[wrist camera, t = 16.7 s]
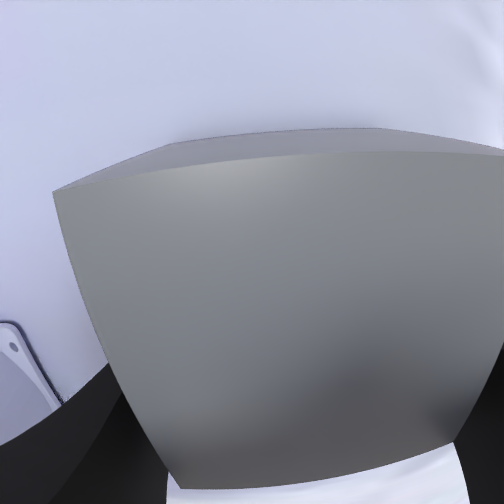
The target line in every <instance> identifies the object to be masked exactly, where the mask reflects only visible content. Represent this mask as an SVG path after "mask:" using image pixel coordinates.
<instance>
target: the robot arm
mask: <svg viewBox="0 0 504 504" xmlns="http://www.w3.org/2000/svg"><path fill="white" fill-rule="evenodd" d="M453 443H454V446H455V449H456V451H457V454H458V457H459V460H460V464H461V467H462V471H463V474H464V478H465V482H466V486H467V490H468V496H469V501H470V504H504V343H503V345H502V348H501V350H500V352H499V355H498V357H497V360H496V362H495V364H494V366H493V369H492V371H491V373H490V375H489V377H488V379H487V381H486V384H485V386H484V388H483V390H482V392H481V394H480V396H479V398H478V399H477V401H476V403H475V405H474V407H473V409H472V411H471V412H470V414H469V416H468V418H467V420H466V421H465V423H464V425H463V426H462V428H461V430H460V431H459V433H458V435H457V436H456V438H455V440H454V441H453ZM168 472H169V471H168V469H167V468H166V466H165V465H164V463H163V461H162V460H161V458H160V457H159V455H158V454H157V452H156V450H155V449H154V447H153V445H152V444H151V442H150V440H149V439H148V437H147V435H146V434H145V432H144V430H143V428H142V427H141V425H140V423H139V421H138V419H137V418H136V416H135V414H134V412H133V410H132V408H131V407H130V405H129V403H128V401H127V399H126V397H125V395H124V393H123V391H122V389H121V387H120V385H119V383H118V381H117V379H116V377H115V375H114V373H113V370H112V368H111V366H110V364H109V363H108V364H107V365H106V366H105V367H104V368H103V369H102V370H101V371H100V372H99V373H97V374H96V375H95V376H94V377H93V378H92V379H91V380H90V381H89V382H88V383H87V384H86V385H85V386H84V387H83V388H81V389H80V390H79V391H78V392H77V393H76V394H75V395H74V396H73V397H71V398H70V399H69V400H68V401H67V402H65V403H64V404H63V405H61V404H60V402H59V401H58V399H57V398H56V396H55V395H54V393H53V391H52V390H51V388H50V387H49V385H48V383H47V382H46V380H45V378H44V377H43V375H42V373H41V371H40V370H39V368H38V366H37V364H36V363H35V361H34V359H33V357H32V355H31V353H30V352H29V350H28V348H27V346H26V344H25V342H24V340H23V338H22V336H21V334H20V332H19V330H18V329H17V328H16V327H15V326H14V325H12V324H9V323H0V504H166V495H167V480H168Z"/></svg>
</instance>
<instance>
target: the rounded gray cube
mask: <svg viewBox="0 0 504 504" xmlns="http://www.w3.org/2000/svg"><path fill="white" fill-rule="evenodd" d="M52 193H53V198H54V202H55V207H56V211H57V215H58V219H59V223H60V227H61V231H62V234H63V238H64V242H65V245H66V249H67V252H68V255H69V259H70V262H71V265H72V268H73V271H74V274H75V278H76V281H77V283H78V286H79V289H80V292H81V295H82V298H83V301H84V303H85V306H86V309H87V311H88V314H89V317H90V319H91V322H92V324H93V327H94V329H95V332H96V334H97V337H98V339H99V341H100V344H101V346H102V348H103V351H104V353H105V355H106V357H107V360H108V362H109V364H110V366H111V368H112V370H113V373H114V375H115V377H116V379H117V381H118V383H119V385H120V387H121V389H122V391H123V393H124V395H125V397H126V399H127V401H128V403H129V405H130V407H131V408H132V410H133V412H134V414H135V416H136V418H137V419H138V421H139V423H140V425H141V427H142V428H143V430H144V432H145V434H146V435H147V437H148V439H149V440H150V442H151V444H152V445H153V447H154V449H155V450H156V452H157V454H158V455H159V457H160V458H161V460H162V461H163V463H164V465H165V466H166V468H167V469H168V471H169V472H170V474H171V475H172V477H173V478H174V480H175V481H176V483H177V484H178V485H179V487H180V488H181V489H244V488H259V487H271V486H281V485H289V484H297V483H304V482H311V481H317V480H323V479H329V478H334V477H339V476H344V475H348V474H353V473H357V472H362V471H366V470H370V469H374V468H377V467H381V466H385V465H388V464H392V463H395V462H398V461H402V460H405V459H408V458H411V457H414V456H417V455H420V454H423V453H426V452H428V451H431V450H434V449H437V448H439V447H442V446H444V445H447V444H449V443H452V442H453V441H454V440H455V438H456V436H457V435H458V433H459V431H460V430H461V428H462V426H463V425H464V423H465V421H466V420H467V418H468V416H469V414H470V412H471V411H472V409H473V407H474V405H475V403H476V401H477V399H478V398H479V396H480V394H481V392H482V390H483V388H484V386H485V384H486V381H487V379H488V377H489V375H490V373H491V371H492V369H493V366H494V364H495V362H496V360H497V357H498V355H499V352H500V350H501V348H502V345H503V343H504V150H503V149H499V148H495V147H490V146H486V145H481V144H477V143H472V142H467V141H462V140H457V139H451V138H446V137H440V136H434V135H428V134H421V133H414V132H407V131H399V130H391V129H382V128H336V129H308V130H290V131H275V132H263V133H252V134H242V135H232V136H224V137H215V138H208V139H200V140H193V141H186V142H180V143H173V144H168V145H165V146H162V147H160V148H157V149H154V150H151V151H148V152H146V153H143V154H140V155H138V156H135V157H132V158H130V159H127V160H125V161H122V162H120V163H117V164H115V165H112V166H110V167H107V168H105V169H102V170H100V171H98V172H95V173H93V174H91V175H88V176H86V177H84V178H81V179H79V180H77V181H75V182H72V183H70V184H68V185H66V186H64V187H62V188H60V189H57V190H55V191H53V192H52Z"/></svg>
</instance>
